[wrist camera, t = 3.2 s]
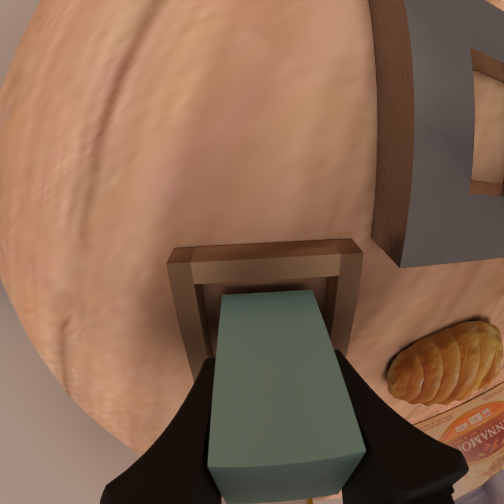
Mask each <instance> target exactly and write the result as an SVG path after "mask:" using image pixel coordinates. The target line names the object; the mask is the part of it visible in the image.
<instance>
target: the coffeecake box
mask: <svg viewBox="0 0 504 504" xmlns="http://www.w3.org/2000/svg"><path fill="white" fill-rule="evenodd" d="M413 426H415V427H416V428H418V429H419V430H421V431H423V432H424V433H426V434H427V435H429V436H431V437H432V438H434V439H436V440H438V441H440V442H442V443H444V444H446V445H449V446H451V447H453V448H455V449H458V450H460V451H461V452H462V454H463V455H464V457H465V459H466V462H467V464H468V467H469V471H468V472H467V474H466V475H464V476H463V477H462V478H461V479H460V480H458V481H457V482H456V483H455V484H453V488H454V493H453V494H452V497H453V500H455V499H457V498H459V497H461V496H463V495H465V494H467V493H468V492H470V491H472V490H474V489H476V488H477V487H479V486H481V485H482V484H484V482H486V481H487V480H488V479H490V478H491V477H492V476H494V475H495V474H497V473H498V472H500V471H501V470H503V469H504V382H503V383H502V384H500V385H498V386H497V387H495V388H493V389H491V390H489V391H488V392H486V393H484V394H482V395H480V396H478V397H476V398H474V399H473V400H471V401H469V402H467V403H464V404H462V405H460V406H458V407H456V408H454V409H452V410H449V411H447V412H445V413H442V414H440V415H438V416H435V417H433V418H430V419H428V420H425V421H423V422H420V423H417V424H415V425H413Z"/></svg>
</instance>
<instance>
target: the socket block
mask: <svg viewBox="0 0 504 504" xmlns="http://www.w3.org/2000/svg"><path fill="white" fill-rule="evenodd" d="M369 5H370V12H371V20H372V28H373V37H374V47H375V60H376V75H377V99H378V150H377V175H376V192H375V205H374V216H373V226H372V236H371V238H372V239H373V240H374V241H375V242H376V243H377V244H378V245H379V246H380V247H381V248H382V249H383V251H384V252H385V253H386V254H387V255H388V256H389V257H390V258H391V259H392V260H393V261H394V262H395V263H396V265H397V266H398V267H399V268H406V267H417V266H427V265H438V264H447V263H457V262H466V261H475V260H484V259H492V258H501V257H504V184H497V183H489V182H481V181H472V180H471V174H472V164H473V150H474V123H475V108H474V82H473V70H475V71H478V72H480V73H483V74H485V75H488V76H490V77H492V78H494V79H497V80H499V81H501V82H503V83H504V12H503V11H502V10H500V9H499V8H497V7H495V6H494V5H492V4H490V3H489V2H487V1H485V0H369Z"/></svg>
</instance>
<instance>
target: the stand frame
mask: <svg viewBox="0 0 504 504" xmlns="http://www.w3.org/2000/svg"><path fill="white" fill-rule="evenodd" d="M362 259H363V252H362V251H361V249H360V248H359V247H358V246H357V244H356V243H355V242H354V241H353V240H352V239H334V240H314V241H295V242H276V243H257V244H239V245H221V246H204V247H187V248H174V249H173V251H172V253H171V255H170V257H169V259H168V262H167V269H168V274H169V279H170V284H171V289H172V294H173V298H174V303H175V307H176V312H177V316H178V321H179V325H180V329H181V333H182V337H183V341H184V345H185V349H186V353H187V357H188V361H189V364H190V368H191V372H192V375H193V379H194V382H195V380H196V378H197V376H198V374H199V372H200V369H201V367H202V364H203V361H204V360H205V359H206V358H214V357H213V352H212V347H211V341H210V335H209V330H208V324H207V318H206V312H205V306H204V300H203V293H202V287H201V284H211V283H232V282H251V281H269V280H285V279H300V278H315V277H328V285H327V295H326V305H325V314H324V323H325V326H326V329H327V332H328V335H329V338H330V340H331V343H332V346H333V349H334V350H337V349H339V350H340V351H341V352H342V354H343V355H344V356H345V357H346V353H347V348H348V343H349V338H350V333H351V328H352V323H353V318H354V312H355V306H356V300H357V294H358V288H359V281H360V274H361V267H362Z"/></svg>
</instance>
